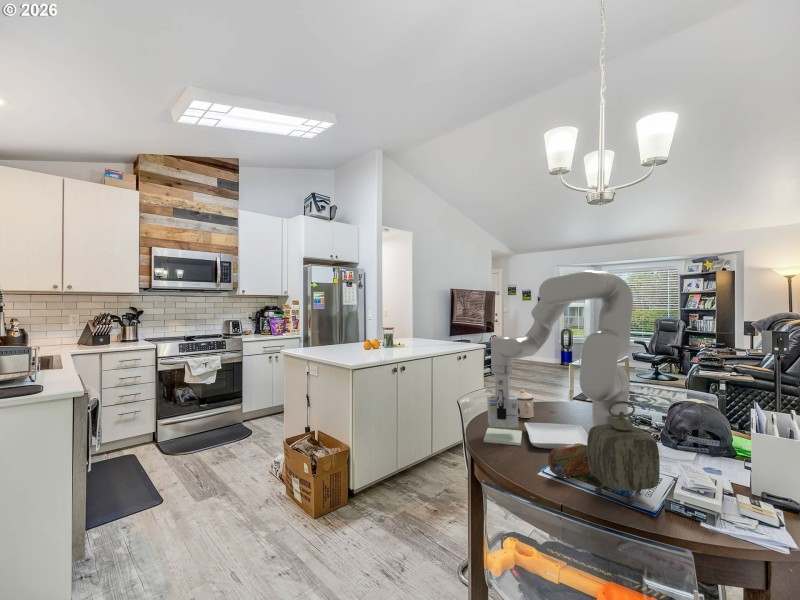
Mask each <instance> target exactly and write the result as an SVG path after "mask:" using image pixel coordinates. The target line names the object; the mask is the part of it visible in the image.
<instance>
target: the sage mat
mask: <svg viewBox="0 0 800 600" xmlns="http://www.w3.org/2000/svg"><path fill="white" fill-rule="evenodd" d="M522 436H523V431H522V430H514V429H505V428H496V427H487V429H486V432H485V433H484V437H483V443H490V444H499V443H500V444H501V445H509V446H510V445H511V446H512V445H513V446H521V445H522V438H523V437H522ZM500 444H499V445H500Z"/></svg>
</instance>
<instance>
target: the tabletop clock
mask: <svg viewBox="0 0 800 600" xmlns="http://www.w3.org/2000/svg"><path fill="white" fill-rule="evenodd" d="M616 404H628V406H630V407H631V408H632V411H631V412H630V413H629V412H628V414H626V415H624V413H623V412H620V413H619V415H615V414H612V413H611V412H610V409H611V407H612V406H614V405H616ZM635 411H636V408H635V405H634V404H632V403H631V402H630V401H628V402H627V401H617V402H614V403H612V404H611V405H610V406H609V408H608V412H609V414H611V415H612V416H614V417H618V418H616V419H614V420H613V421H612V424H604V425H597V426H594V427H593V426H592V427H590V428H589V430H588V432H587V434H588V439H587V458H588V465H589V469H590V472H589V473H590V474H591V475H592V476H593V477H594V478H595V479H597V480H598V481H599V482H600V483H601V484H600V487H595V489H594V491H595V493H596V494H598V495H600V494H602V493H603V488H604V487H606V488H607V489H610V490H614V491H626V494H627V496H626V498H625V500H626V502H627V503H629V504H633V503H634V501H635V500H634V498H633V497H632V496H631V491H635V492H637V493H641V492H642V490H643V491H644V490H651V489H654V488H656V487H658V485H659V482H660V468H661V467H660V465H661V463H660V462H661V461H660V453H659V452H660V451H659V450H660V449H659V447H658V443H657V441H656V438H655V437H654V435H652V434H650V433H648V432H645V431H644V430H643V429H639V428H638V427H636V426H634V425H633V423H632V422H631V421H630V420H629V419H628V420H627V419H624V418H625V417H628V418H629V417H631V416H632V415H634V414H635Z"/></svg>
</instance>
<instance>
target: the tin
mask: <svg viewBox="0 0 800 600" xmlns="http://www.w3.org/2000/svg"><path fill="white" fill-rule="evenodd" d="M547 461H548V462H547V463H548V468H549V470H550V472H551V473H552V474H554V475H555V476H557V477H558V478H560V479H565V478H564V477H569V476H570V478H572V477H571V476H574V477H578V476H583V475H587V474H589V473H591V472H590V469H589V465H588V458H587V445H583V444H579V443H578V444H572V445H567V446H561V447H557V448H554V449H552V450H551V451H550V453H549V455H548V460H547Z"/></svg>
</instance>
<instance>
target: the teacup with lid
mask: <svg viewBox="0 0 800 600" xmlns="http://www.w3.org/2000/svg"><path fill="white" fill-rule="evenodd" d="M512 395H515V397H516V398H517V400H518V417H521V418H530V417H533V418H534V396H533V395H532V394H530V393H528V392H526V391H525V389H520V390H519V392H517V393H514V394H512ZM530 419H531V418H530Z"/></svg>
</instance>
